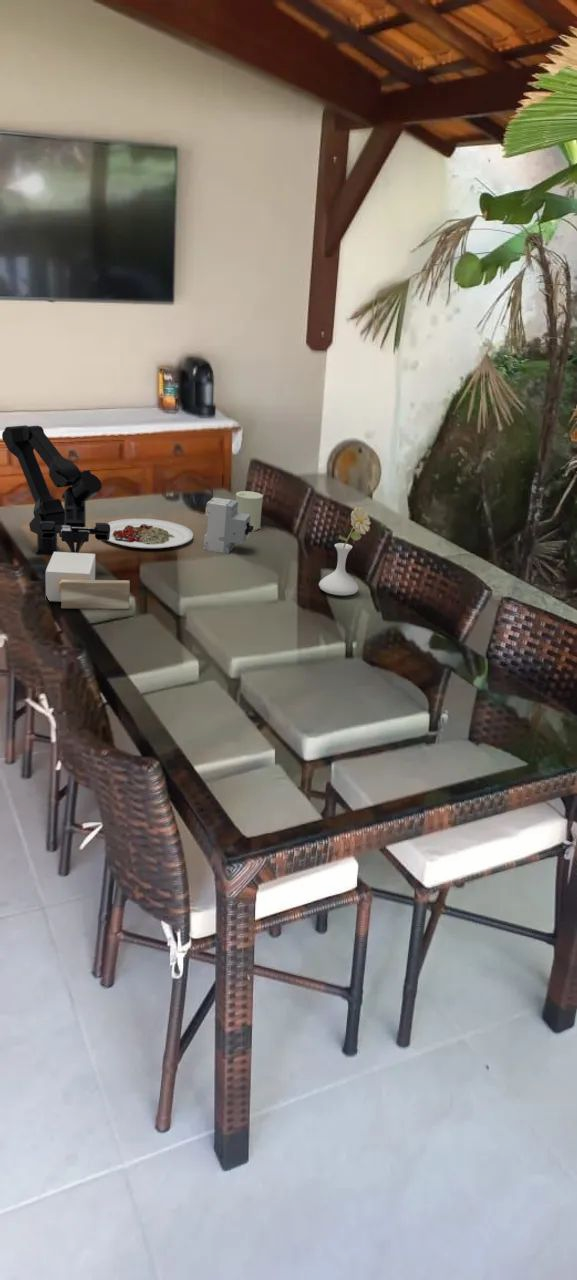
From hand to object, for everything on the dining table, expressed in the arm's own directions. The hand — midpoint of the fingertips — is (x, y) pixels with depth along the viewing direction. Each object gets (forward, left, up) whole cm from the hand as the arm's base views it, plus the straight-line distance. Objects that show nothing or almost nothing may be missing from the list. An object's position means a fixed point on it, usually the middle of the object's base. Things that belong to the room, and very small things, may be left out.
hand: (75, 559), depth 250 cm
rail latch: (+17, 0, -3) cm, 18 cm away
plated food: (-40, +22, -7) cm, 46 cm away
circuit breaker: (-29, +47, -6) cm, 56 cm away
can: (-53, +57, -6) cm, 78 cm away
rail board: (+19, +5, -6) cm, 21 cm away
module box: (+8, -1, -6) cm, 10 cm away
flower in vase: (+7, +74, -6) cm, 75 cm away
